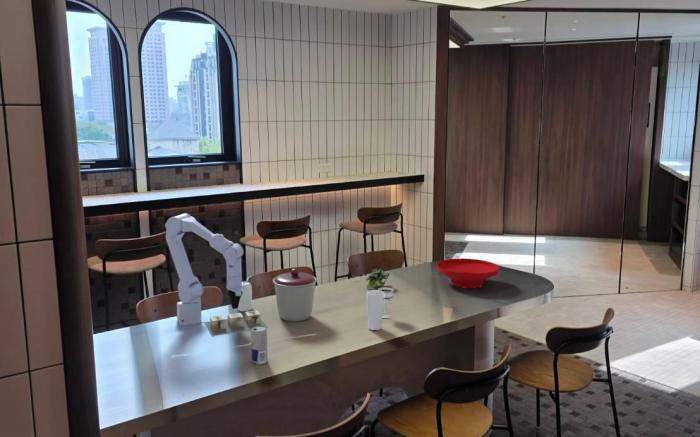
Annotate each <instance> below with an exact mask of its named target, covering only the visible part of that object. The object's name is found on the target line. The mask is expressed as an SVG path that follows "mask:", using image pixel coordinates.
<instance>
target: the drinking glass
mask: <svg viewBox="0 0 700 437" xmlns="http://www.w3.org/2000/svg"><path fill="white" fill-rule="evenodd" d="M365 302H366V314H367V316H366V317H367V328H368V330H370V331H373V330H377V331H380V330H381V329H382V321H383V319H382V315H383V312H384V305H385V303H384V293H383V292H382V291H380V290H378V289H371V290H367V291H366V301H365ZM379 329H380V330H379Z"/></svg>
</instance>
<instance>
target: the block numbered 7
mask: <svg viewBox="0 0 700 437" xmlns="http://www.w3.org/2000/svg"><path fill="white" fill-rule="evenodd" d="M244 317H245V322H246V323H247V324H248V326H249V325H256V324H261V320H262V319H261V313H260V312H259V310H249V311H244ZM260 319H261V320H260Z"/></svg>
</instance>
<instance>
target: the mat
mask: <svg viewBox="0 0 700 437" xmlns="http://www.w3.org/2000/svg"><path fill="white" fill-rule="evenodd" d="M260 320H261V324H256V325H249V326H248V324H247V323H246V322H245V316H243V326H242V327H235V328H230V326H229V324H228V318H225V322H226V329H221V330H214V331H213V330H212V328H211V326H210V321H204V322H203V323H204V325H205V327H206V329H207V331H208V332H209V334H210V336H211V337H217V336H223V335H230V334H237V333H243V332H244V333H245V332H251V329H252V328H253V327H255V326H264V327H266V329H268V328H269V327H268V325H266V323H265V322H264V321H263V320H262V318H260Z"/></svg>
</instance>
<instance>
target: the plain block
mask: <svg viewBox="0 0 700 437" xmlns="http://www.w3.org/2000/svg"><path fill="white" fill-rule="evenodd" d="M243 317H244V316H243V314H242V313H241V312H237V313H235V312H234V313H228V314H227V319H228V324H229V326H230V328H235V327H242V326H243Z"/></svg>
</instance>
